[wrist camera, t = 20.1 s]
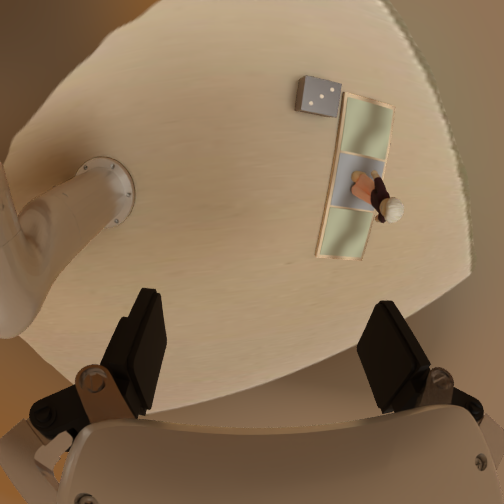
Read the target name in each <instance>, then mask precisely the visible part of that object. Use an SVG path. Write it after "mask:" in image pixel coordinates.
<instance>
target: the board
mask: <svg viewBox="0 0 504 504" xmlns="http://www.w3.org/2000/svg"><path fill="white" fill-rule="evenodd" d="M394 115H395V106H392V105H389V104H386V103H382V102H379V101H376V100H373V99H369V98H366V97H362V96H358V95H355V94H351V93H347V92H343V96H342V104H341V112H340V119H339V127H338V134H337V140H336V147H335V153H334V160H333V166H332V171H331V177H330V183H329V188H328V194H327V199H326V204H325V209H324V214H323V219H322V224H321V229H320V234H319V238H318V243H317V248H316V252H315V256H316V257H319V258H333V259H346V260H360V261H362V259H363V255H364V252H365V249H366V245H367V242H368V238H369V235H370V231H371V228H372V224H373V220H374V216H375V212H376V209H375V208H374V207H372V205H371V204H369V203H367V202H365V201H363V200H361V199H359V198H358V197H356V196H355V195H353V194H352V187H353V185H355V184H356V183H355V182H353V181H352V179H351V175H352V173H353V172H354V171H361V172H364V173H366V175H367V176H368V177H369V178H371V179H372V180H373V181H374V179H373V177H372V176H371V172H372V171H373V170H376V171H377V172H378V174H379V176H380V177H381V178H382V181H383V178H384V173H385V168H386V163H387V158H388V153H389V147H390V141H391V135H392V129H393V122H394Z"/></svg>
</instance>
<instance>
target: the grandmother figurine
mask: <svg viewBox="0 0 504 504" xmlns="http://www.w3.org/2000/svg"><path fill="white" fill-rule="evenodd" d="M371 176H372V177H373V179H374V181H373V180H372V179H371V178H369V177H368V176H367V175H366V173H364V172H361V171H354V172H353V173H352V175H351V179H352V181H353V182H355V183H356V184H355V185H353V187H352V194H353V195H355V196H356V197H358V198H359V199H361V200H363V201H365V202H367V203H369V204H371V205H372V207H374V208H375V209H376V210H377V212H378V213H379V214H378V215H377V216H376V217H375V220H376V222H381V223H384V222H385V221H387V222H388V223H394V222H397V221H398V220H399V219H400V218H401V217H402V215H403V213H404V205H403V203H402V202H401V201H400V200H399V199H397V198H395V197H391V198H390V196H389V193H388V192H387V191H386V188H385V185H384V183H383V181H382V178H381V177H380V176H379V174H378V172H377V171H376V170H373V171H372V172H371Z"/></svg>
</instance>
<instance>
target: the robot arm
mask: <svg viewBox="0 0 504 504" xmlns="http://www.w3.org/2000/svg"><path fill="white" fill-rule="evenodd" d="M114 165H115V167H114ZM130 193H131V194H130ZM134 201H135V189H134V184H133V181H132V179H131V176H130V175H129V173H128V171H127V170H126V169H125V168H124V166H122V165H121V164H120V163H119V162H117V161H115V160H114V159H111V158H107V157H98V158H94V159H91V160H89V161H87V162H85V163H84V164H83V165H82V166H81V167H80V168H79V170H78V171H77V173H76V175H75V177H74V178H72V179H70V180H68V181H66V182H64V183H62V184H60V185H58V186H53V188H52V189H51V190H49V191H47V192H45V193H44V194H42V195H40V196H38V197H36V198H35V199H33V200H31V201H30V202H29V203H28V204H27V205H26V206H25V207H24V208H23V209H22V210H21V212H20V213H19V215H18V217H17V214H16V210H15V207H14V204H13V200H12V196H11V193H10V189H9V186H8V182H7V178H6V174H5V171H4V168H3V165H2V163H1V162H0V338H5V339H7V338H12V337H15V336H17V335H19V334H21V333H22V332H24V331H25V330H26V329H27V328H28V327H29V326H30V325H31V323H32V322H33V321H34V319H35V318H36V316H37V314H38V313H39V311H40V309H41V307H42V305H43V303H44V301H45V299H46V296H47V294H48V292H49V290H50V288H51V286H52V285H53V283H54V281H55V280H56V278H57V277H58V276H59V274H60V273H61V272H62V271H63V269H64V268H65V267H66V266H67V265H68V264H69V263H70V262H71V260H72V259H73V258H74V257H75V256H76V255H77V254H78V253H79V252H80V251H81V250H82V249H83V248H84V247H85V246H86V245H87V244H88V243H89V242H90V241H91V240H92V239H93V238H94V237H95V236H96V235H97V234H98V233H99V232H100V231H101V230H102V229H103V228H112V227H116V226H117V225H119V224H121V223H122V222H123V221H124V220H125V219H126V218H127V217H128V216H129V214H130V213H131V211H132V208H133V206H134ZM166 345H167V337H166V330H165V324H164V317H163V309H162V301H161V294H160V293H157V292H156V289H149V288H142V289H141V291H140V293H139V295H138V297H137V299H136V301H135V303H134V305H133V307H132V309H131V312H130V314H129V316H128V317H122V318H121V319H120V321H119V323H118V325H117V327H116V329H115V332H114V334H113V336H112V338H111V340H110V343H109V345H108V347H107V349H106V352H105V354H104V356H103V358H102V361H101V363H100V365H97V364H92V365H87V366H85V367H83V368H82V369H81V370H80V371H79V372H78V373H77V375H76V378H75V384H74V385H72V386H70V387H68V388H66V389H64V390H61V391H59V392H57V393H55V394H52V395H50V396H48V397H45V398H43V399H40V400H38V401H37V402H36V403H34V404H33V406H32V407H31V409H30V414H29V418H28V419H27V420H25V419H22V420H21V421H20V422H19V423H18V424H17V425H15V426H14V427H13V428H12V429H11V430H10V431H9V432H7V433H6V434H5V435H4V436H3V437H2V438H1V439H0V465H1V466H2V468H3V470H4V471H5V473H6V474H7V475H8V477H9V479H10V480H11V482H12V483H13V485H14V486H15V487H16V489H17V490H18V491H19V493H20V494H21V495H22V497H23V498H24V499H25V501H26V502H27V503H28V504H504V501H503V496H502V491H501V487H500V483H499V479H498V475H497V472H496V470H497V468H498V466H499V464H500V462H501V460H502V457H503V455H504V429H503V428H501V427H500V426H499V425H498V424H497V423H496V422H495V421H494V420H493V419H492V418H491V417H490V416H489V415H487V414H485V415H483V413H484V410H483V406H482V404H481V403H480V402H479V400H477V399H476V398H474V397H472V396H470V395H468V394H466V393H464V392H462V391H460V390H459V389H457V388H455V387H454V380H453V377H452V376H451V374H450V373H449V372H448V371H447V370H445V369H444V368H441V367H435V368H432V369H431V370H430V368H429V366H430V365H431V364H430V362H429V360H428V358H427V356H426V355H425V353H424V351H423V349H422V348H421V346H420V344H419V343H418V341H417V339H416V338H415V336H414V334H413V332H412V331H411V329H410V328H409V326H408V324H407V323H406V321H405V319H404V318H403V316H402V315H401V313H400V312H399V310H398V308H397V307H396V305H395V304H394V302H393V301H380V302H379V303H378V304H376V305H375V307H374V310H373V312H372V314H371V316H370V319H369V321H368V323H367V325H366V328H365V330H364V332H363V334H362V336H361V338H360V340H359V342H358V345H357V352H358V355H359V357H360V360H361V363H362V365H363V368H364V370H365V373H366V376H367V379H368V381H369V384H370V387H371V389H372V392H373V395H374V398H375V401H376V403H377V406H378V408H381V411H382V414H385V413H389V412H392V411H393V410H394V413H392V414H387V415H382V416H377V417H372V418H366V419H360V420H355V421H347V422H340V423H332V424H324V425H312V426H299V427H278V428H236V427H216V426H202V425H191V424H181V423H172V422H163V421H155V420H146V419H138V415H144V416H145V415H146V410H147V409H148V410H150V409H151V407H152V403H153V398H154V394H155V389H156V385H157V381H158V377H159V373H160V369H161V365H162V361H163V357H164V353H165V349H166ZM64 452H69V453H68V456H67V459H66V462H65V465H64V469H63V472H62V476H61V480H60V484H59V483H58V481H57V480H56V478H55V477H54V473H53V468H54V465H55V464H56V462H57V461H59V460H60V457H59V456H60V455H61V454H63V453H64ZM92 496H93V497H92Z"/></svg>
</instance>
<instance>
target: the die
mask: <svg viewBox="0 0 504 504" xmlns="http://www.w3.org/2000/svg"><path fill="white" fill-rule="evenodd" d="M341 85H342V84H340V83H336V82H332V81H328V80H324V79H320V78H315V77H311V76H304V77H303V78H301V79H300V80H299V83H298V90H297V97H296V104H295V111H300V112H305V113H311V114H316V115H320V116H325V117H337V113H338V106H339V99H340V93H341Z"/></svg>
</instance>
